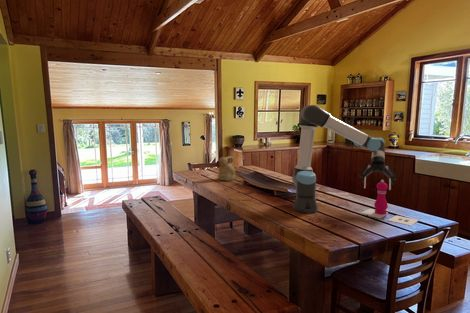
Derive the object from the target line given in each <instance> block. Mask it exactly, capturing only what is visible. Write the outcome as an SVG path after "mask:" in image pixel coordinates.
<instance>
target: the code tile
mask: <svg viewBox="0 0 470 313" xmlns="http://www.w3.org/2000/svg"><path fill="white" fill-rule="evenodd" d="M387 221H389V222H393V223H396V224H401V225H406V226H410V227H411V226H413V225H415V224H416V223H418V222H419V221H420V220H419V219H416V218H410V217H405V216H401V215H394V216H392V217H391V218H389V219H387Z"/></svg>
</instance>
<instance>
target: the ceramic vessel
mask: <svg viewBox="0 0 470 313" xmlns="http://www.w3.org/2000/svg"><path fill="white" fill-rule="evenodd" d="M233 155H234V152H233V151H229V156H226V157H225V156H221V157H219V160H218V161H219V167H218V172H219V173H218V175H217V179H218V180H220V181H226V182H229V181H234V180H235V178H236V177H235V176H236V169H235V167H234V163H235V162H234V161H235V160H234V156H233ZM229 160H230V162H229Z"/></svg>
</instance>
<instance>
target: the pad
mask: <svg viewBox="0 0 470 313" xmlns="http://www.w3.org/2000/svg"><path fill="white" fill-rule="evenodd" d="M360 214H361V215H364V216H367V215H368V217H371V218H377V219H382V218H383V217H385V216H388V214H389V212H388V211H386V214H384V215H381V214H376V213H375V209H373V208H368V209H366V210H363V211H362V212H361V213H360Z"/></svg>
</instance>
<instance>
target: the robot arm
mask: <svg viewBox="0 0 470 313" xmlns="http://www.w3.org/2000/svg"><path fill="white" fill-rule="evenodd" d="M298 126H299V127H300V128H301V130H300V137H299V138H300V139H299V146H298V156H297V164H296V165H295V166H294V170H293V173H292V176H291V177H292V180H291V181H292V183H293V184H294V185H295V186H296V188H295V189H296V192H295V193H296V196H295V199H294V201H293V202H294V203H293V206H292V209H293V210H294V211H295V212H297V213H303V214H312V213H316V212H318V211H319V205H318V203H317V199H316V191H317V190H316V189H317V188H316V187H317V175H316V173H315V172H312V169H313V168H312V157H313V150H314V140H315V133H316V130H317V128H319V127H320V128H325V129H328V130H330V131H331V132H333V133H336V134H337V135H340V136H341V137H343V138H345V139H347V140H349V141H351V142H353V145H354V146H356V147H358V148H362V149H364V150H368V151H371V164H368V163H366V164H365V167H363V170H362V171H361V172H360V173H359V178H361V179H362V183H363V189H366V187H367V186H366V185H367V183H366V182H367V177H368V176H370V175H371V174H372V173H382V174H383V175H384V176H386V178H388V183H389V184H388V190H389V191H391V189H392V185H394V181H396V180H397V176H396V174H395V173H394V171H393V170H392V168H391V165H390V164H388V165H386V164H385V161H386V160H385V157H386V156H385V155H386V152H385V151H386V141H385V139H384V138H383V137H373V136H371V135H369V134H367V133H365V132H363V131H361V130H359V129H357V128H355V127H354V126H351V125H350V124H348V123H345V122H344V121H342V120H340V119H338V118H336V117H334V116H332V115H331V113H330V112H328V111H326V110H324V109H323V108H321V107H320V106H319V105H315V104H311V105H310V104H309V105H308V104H307V105H305V106H303V107H302V108H301V109H300V111H299V125H298ZM369 168H370V169H369ZM368 169H369V170H368ZM367 170H368V171H367Z"/></svg>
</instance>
